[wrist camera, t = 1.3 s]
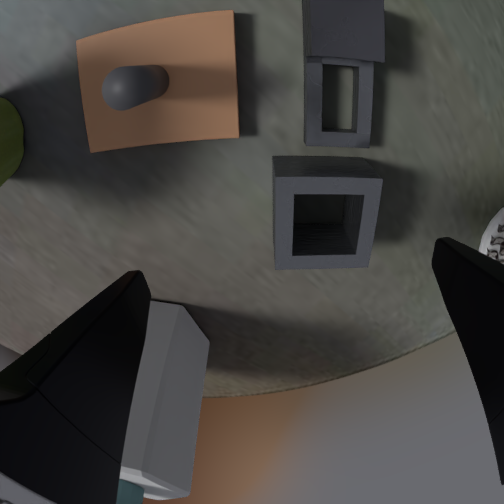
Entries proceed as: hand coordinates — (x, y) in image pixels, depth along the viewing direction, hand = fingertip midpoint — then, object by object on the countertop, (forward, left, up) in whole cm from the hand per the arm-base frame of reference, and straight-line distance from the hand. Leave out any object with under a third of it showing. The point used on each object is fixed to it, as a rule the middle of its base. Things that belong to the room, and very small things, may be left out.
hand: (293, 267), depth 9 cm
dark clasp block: (-4, -5, -13) cm, 14 cm away
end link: (-3, +3, -13) cm, 13 cm away
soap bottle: (+11, +17, -13) cm, 24 cm away
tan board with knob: (+7, -5, -13) cm, 15 cm away
